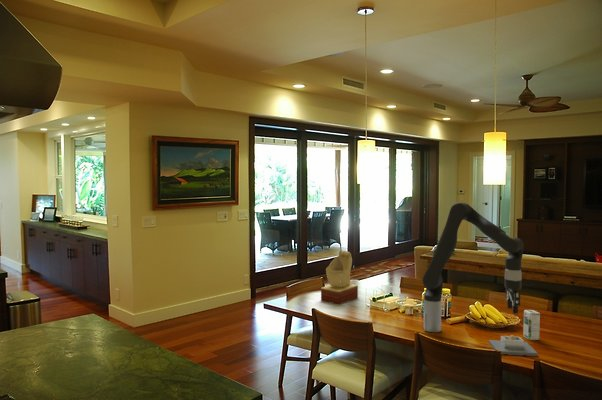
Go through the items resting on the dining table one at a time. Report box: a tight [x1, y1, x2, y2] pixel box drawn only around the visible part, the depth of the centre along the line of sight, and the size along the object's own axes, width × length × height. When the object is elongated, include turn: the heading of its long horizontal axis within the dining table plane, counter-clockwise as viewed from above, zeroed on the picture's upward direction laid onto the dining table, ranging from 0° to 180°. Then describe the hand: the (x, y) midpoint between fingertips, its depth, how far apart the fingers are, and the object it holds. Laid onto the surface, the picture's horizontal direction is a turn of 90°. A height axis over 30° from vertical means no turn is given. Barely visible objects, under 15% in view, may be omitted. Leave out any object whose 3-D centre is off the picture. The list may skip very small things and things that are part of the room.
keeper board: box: [488, 334, 538, 357], centre depth 212 cm, size 18×15×7 cm
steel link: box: [500, 335, 525, 349], centre depth 212 cm, size 9×6×4 cm, turn 81°
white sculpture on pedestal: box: [320, 248, 359, 305], centre depth 310 cm, size 25×18×35 cm
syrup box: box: [522, 309, 541, 341], centre depth 228 cm, size 6×6×14 cm
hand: (512, 310), depth 212 cm, fingers open, 8 cm apart
